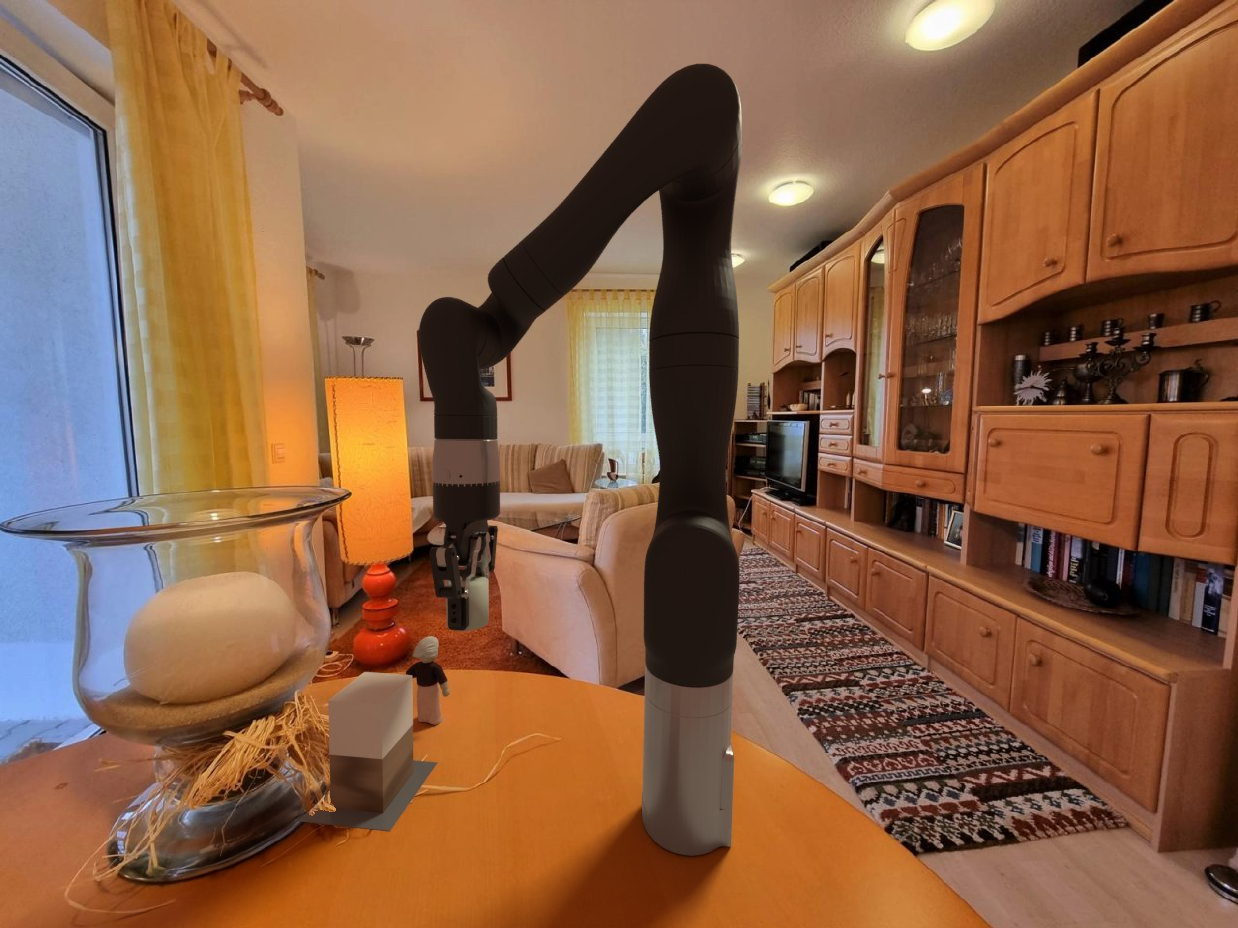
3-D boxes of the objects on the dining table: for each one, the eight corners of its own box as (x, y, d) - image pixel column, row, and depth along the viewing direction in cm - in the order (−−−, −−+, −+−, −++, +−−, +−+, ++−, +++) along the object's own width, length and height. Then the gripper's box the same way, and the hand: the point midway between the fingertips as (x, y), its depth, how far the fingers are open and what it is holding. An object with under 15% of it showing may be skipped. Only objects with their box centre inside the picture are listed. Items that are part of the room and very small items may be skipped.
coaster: (437, 768, 58) (437, 762, 58) (390, 837, 48) (389, 830, 48) (361, 761, 59) (361, 755, 59) (299, 828, 49) (299, 820, 49)
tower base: (413, 772, 56) (412, 724, 55) (383, 812, 50) (382, 759, 49) (366, 768, 56) (365, 720, 56) (330, 807, 50) (329, 754, 50)
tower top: (412, 724, 55) (412, 675, 55) (382, 759, 49) (381, 704, 49) (365, 720, 56) (364, 671, 56) (329, 754, 50) (328, 700, 50)
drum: (494, 616, 58) (494, 576, 58) (479, 632, 53) (478, 589, 53) (457, 614, 59) (457, 575, 58) (439, 630, 54) (438, 587, 54)
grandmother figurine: (460, 718, 68) (459, 633, 67) (446, 735, 64) (445, 645, 63) (411, 713, 69) (409, 629, 68) (394, 729, 65) (393, 641, 64)
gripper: (472, 485, 47) (474, 648, 48) (517, 473, 62) (517, 600, 63) (402, 483, 48) (405, 644, 49) (462, 472, 62) (463, 597, 63)
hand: (468, 619), depth 56 cm, fingers closed on drum, 4 cm apart
